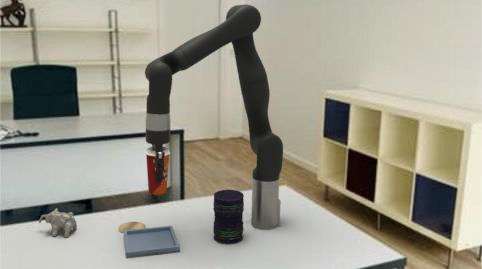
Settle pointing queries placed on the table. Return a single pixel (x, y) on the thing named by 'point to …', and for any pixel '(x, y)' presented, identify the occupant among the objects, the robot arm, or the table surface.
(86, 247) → the table surface
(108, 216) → the table surface
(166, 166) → the paper cup
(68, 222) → the elephant statuette
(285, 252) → the table surface
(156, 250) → the tray
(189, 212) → the table surface
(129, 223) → the cork coaster
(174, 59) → the robot arm
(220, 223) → the storage jar
